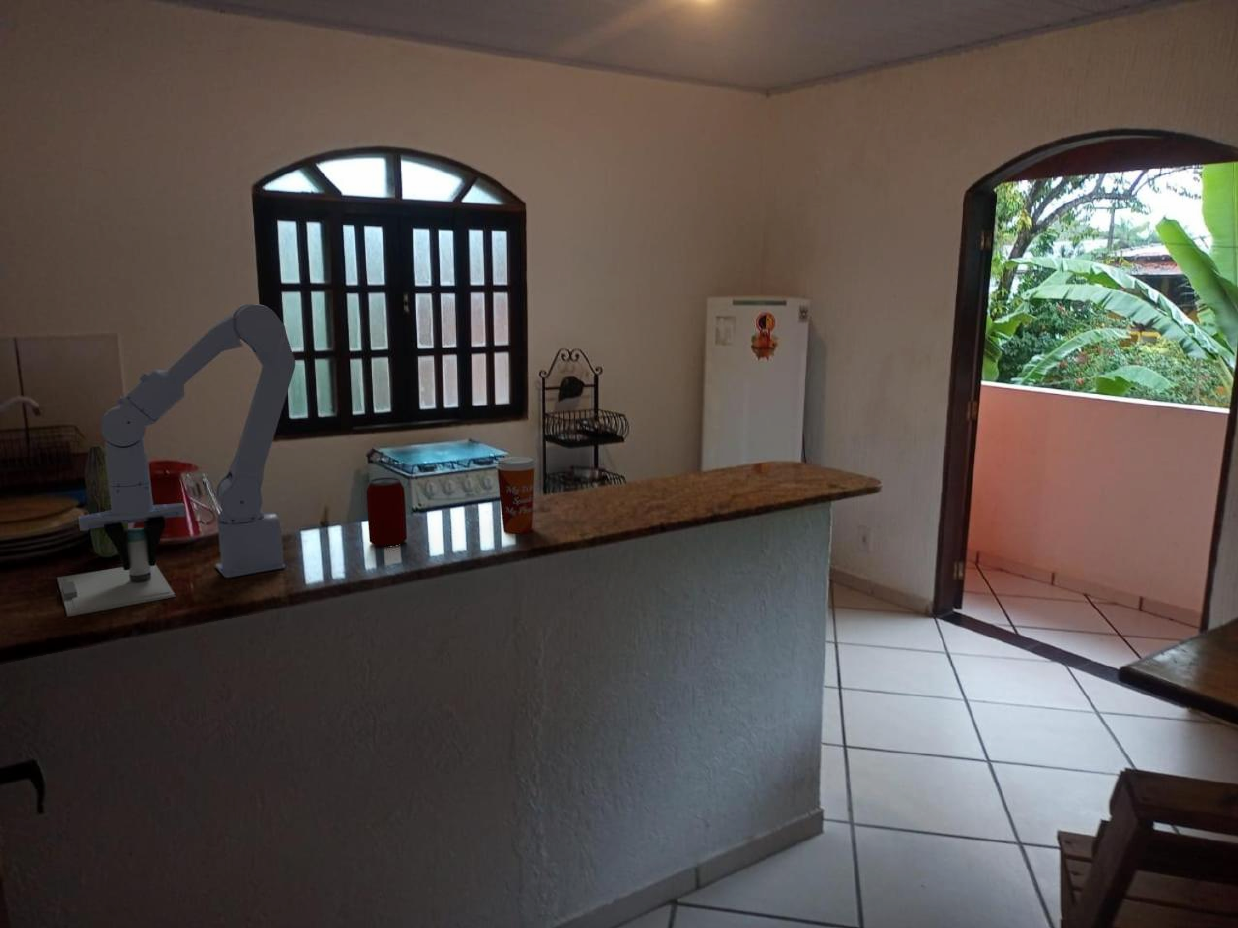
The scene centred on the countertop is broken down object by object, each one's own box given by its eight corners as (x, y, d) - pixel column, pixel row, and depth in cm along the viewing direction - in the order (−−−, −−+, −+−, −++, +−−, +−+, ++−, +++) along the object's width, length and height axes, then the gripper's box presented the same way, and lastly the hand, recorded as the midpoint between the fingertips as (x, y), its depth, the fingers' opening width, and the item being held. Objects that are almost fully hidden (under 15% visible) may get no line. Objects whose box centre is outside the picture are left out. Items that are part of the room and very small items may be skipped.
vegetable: (128, 549, 155) (115, 440, 152) (138, 556, 151) (125, 445, 147) (90, 556, 151) (76, 444, 147) (99, 564, 147) (85, 449, 143)
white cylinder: (150, 574, 139) (145, 526, 137) (151, 579, 136) (146, 531, 135) (129, 577, 138) (124, 529, 136) (129, 582, 135) (124, 533, 133)
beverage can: (410, 538, 162) (407, 476, 160) (403, 548, 156) (399, 484, 153) (374, 538, 162) (371, 476, 160) (365, 549, 155) (361, 484, 153)
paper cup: (509, 537, 163) (508, 465, 160) (490, 528, 169) (488, 459, 166) (545, 530, 167) (543, 460, 164) (525, 522, 173) (523, 454, 171)
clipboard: (154, 564, 147) (153, 556, 147) (175, 596, 131) (174, 587, 131) (57, 580, 139) (56, 571, 138) (67, 616, 123) (66, 607, 123)
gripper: (176, 473, 141) (184, 552, 144) (72, 484, 133) (83, 568, 136) (184, 480, 136) (192, 562, 138) (77, 492, 127) (88, 580, 130)
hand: (139, 566), depth 137 cm, fingers closed on white cylinder, 3 cm apart
